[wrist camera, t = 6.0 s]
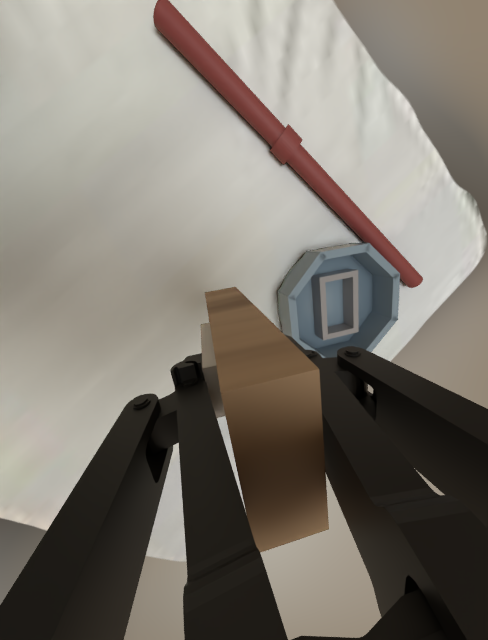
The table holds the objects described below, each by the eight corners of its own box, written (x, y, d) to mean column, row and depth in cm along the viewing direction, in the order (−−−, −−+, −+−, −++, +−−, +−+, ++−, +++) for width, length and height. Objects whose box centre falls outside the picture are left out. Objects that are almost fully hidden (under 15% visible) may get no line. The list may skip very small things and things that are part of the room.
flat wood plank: (204, 292, 19) (220, 392, 6) (235, 286, 19) (319, 369, 6) (218, 359, 21) (255, 554, 7) (246, 353, 21) (329, 529, 8)
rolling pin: (152, 39, 24) (146, 10, 21) (169, 10, 24) (165, -23, 21) (400, 289, 39) (417, 292, 36) (413, 273, 38) (431, 275, 35)
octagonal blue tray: (271, 256, 33) (283, 258, 28) (374, 238, 35) (402, 236, 30) (283, 359, 38) (295, 374, 33) (373, 337, 40) (396, 349, 35)
